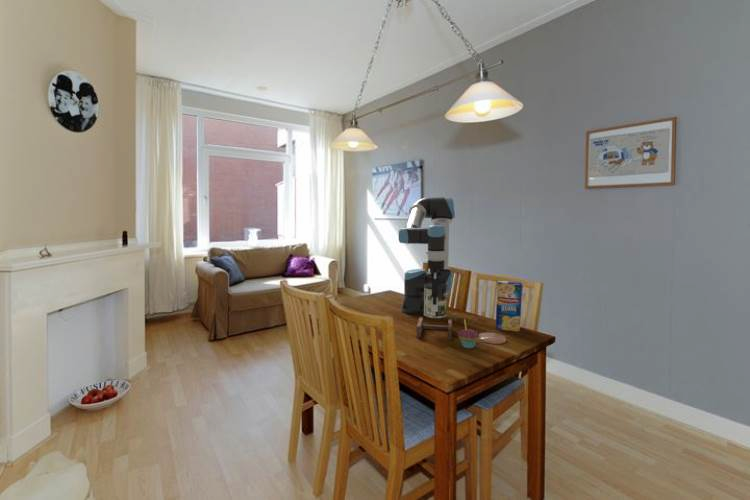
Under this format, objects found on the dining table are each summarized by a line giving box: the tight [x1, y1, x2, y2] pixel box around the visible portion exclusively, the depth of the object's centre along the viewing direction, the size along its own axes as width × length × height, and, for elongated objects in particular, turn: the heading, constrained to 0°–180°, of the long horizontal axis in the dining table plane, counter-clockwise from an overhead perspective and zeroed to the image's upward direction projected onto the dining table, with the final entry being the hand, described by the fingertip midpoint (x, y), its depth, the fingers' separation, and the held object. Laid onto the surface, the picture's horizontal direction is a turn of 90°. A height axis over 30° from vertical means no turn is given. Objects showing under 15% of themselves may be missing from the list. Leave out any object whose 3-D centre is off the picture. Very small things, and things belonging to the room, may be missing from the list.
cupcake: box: [457, 317, 480, 349], centre depth 150 cm, size 9×8×12 cm
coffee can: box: [423, 283, 448, 319], centre depth 165 cm, size 10×10×14 cm
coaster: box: [478, 332, 507, 345], centre depth 159 cm, size 12×12×1 cm
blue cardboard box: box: [495, 280, 523, 332], centre depth 173 cm, size 7×11×22 cm, turn 69°
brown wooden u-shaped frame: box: [416, 316, 453, 341], centre depth 166 cm, size 14×15×5 cm
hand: (435, 307), depth 166 cm, fingers closed on coffee can, 10 cm apart
